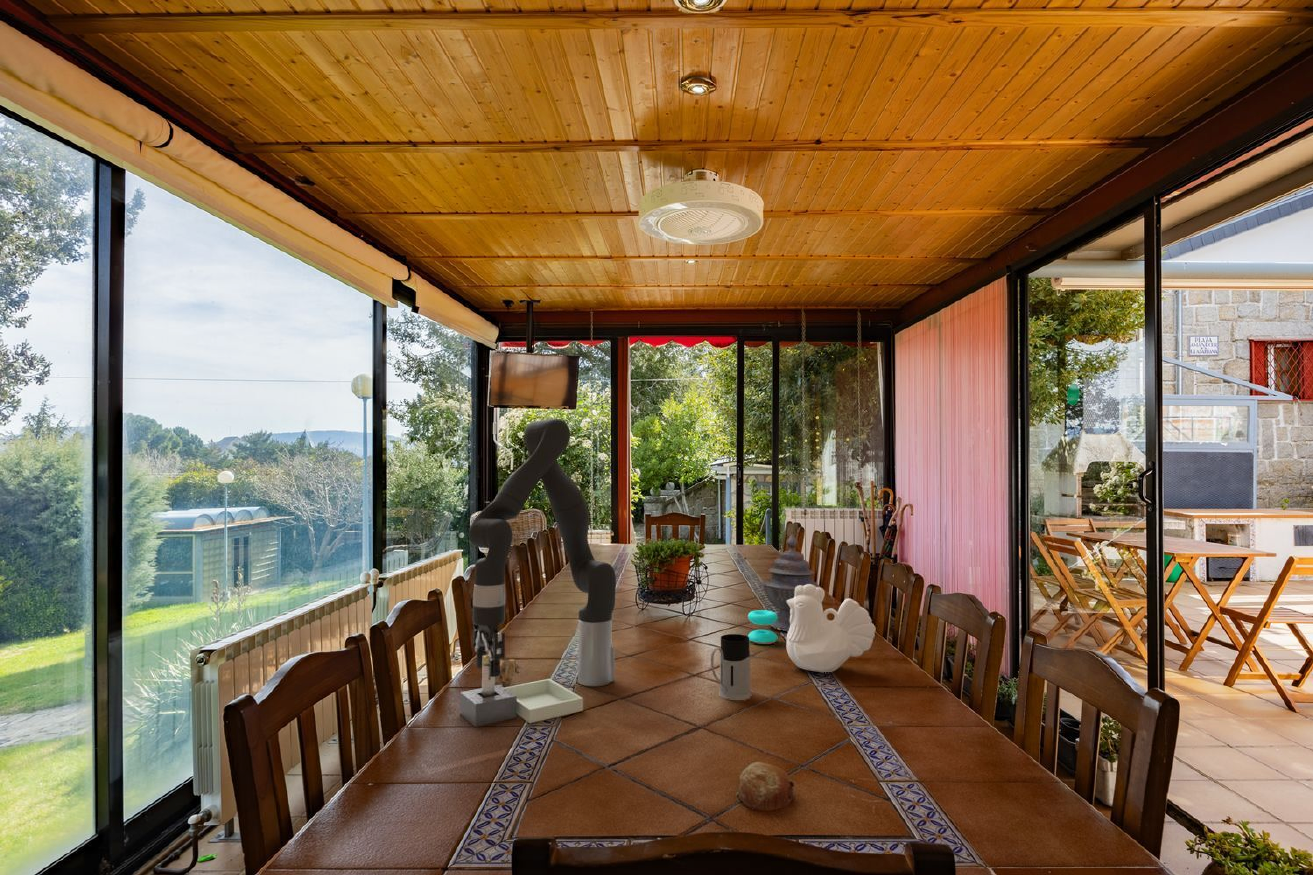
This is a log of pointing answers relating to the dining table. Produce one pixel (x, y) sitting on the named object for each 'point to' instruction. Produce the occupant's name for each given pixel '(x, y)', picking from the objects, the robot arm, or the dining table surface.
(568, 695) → the tray
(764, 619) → the donuts
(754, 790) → the bread roll
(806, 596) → the decorative rooster
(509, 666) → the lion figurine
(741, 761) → the dining table surface
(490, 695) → the steel pin
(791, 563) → the decorative urn
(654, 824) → the dining table surface
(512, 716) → the block
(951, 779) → the dining table surface
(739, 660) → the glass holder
